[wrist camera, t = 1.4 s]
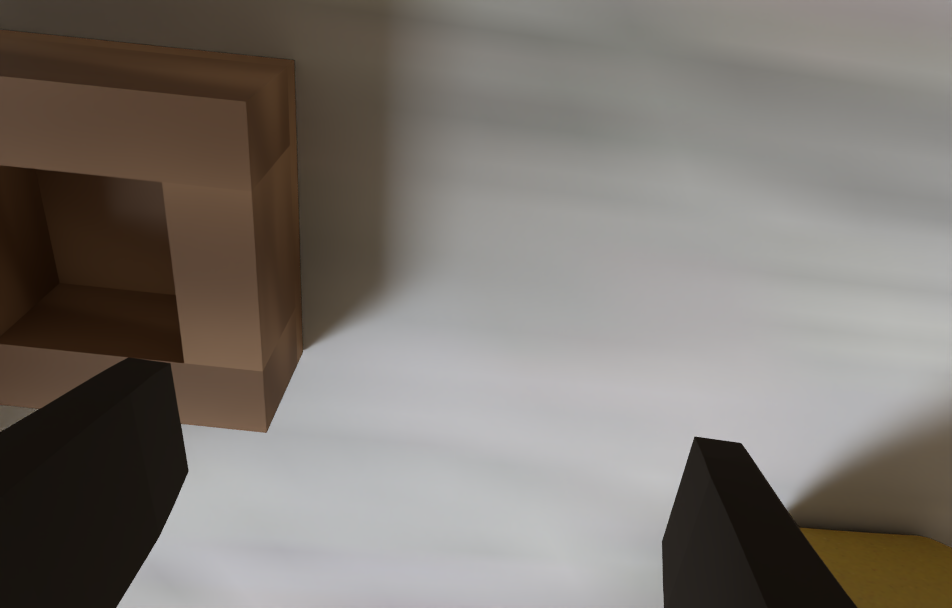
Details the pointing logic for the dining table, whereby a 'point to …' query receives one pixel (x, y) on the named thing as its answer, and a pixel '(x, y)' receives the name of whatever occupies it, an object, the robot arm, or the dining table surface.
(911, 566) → the flower pot
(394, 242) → the dining table surface
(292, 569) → the dining table surface
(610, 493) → the dining table surface
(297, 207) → the socket block
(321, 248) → the dining table surface
